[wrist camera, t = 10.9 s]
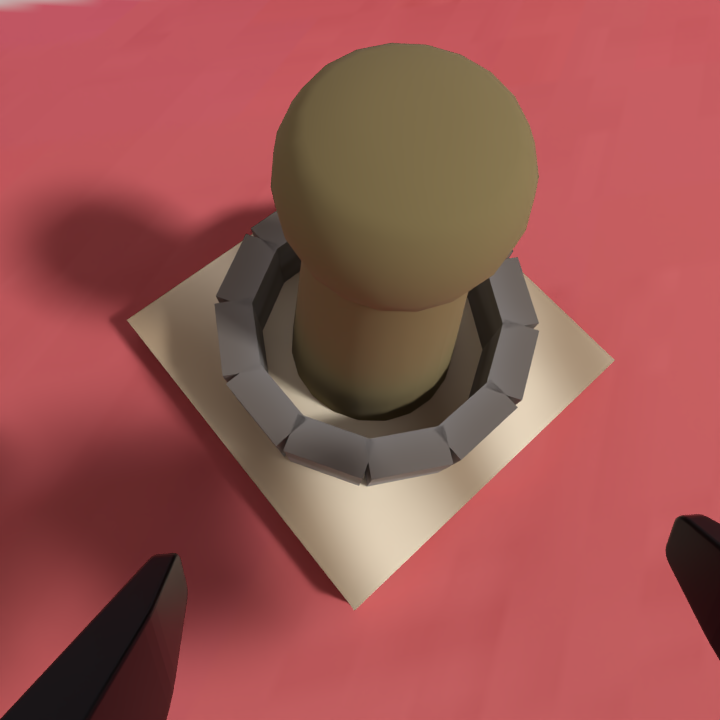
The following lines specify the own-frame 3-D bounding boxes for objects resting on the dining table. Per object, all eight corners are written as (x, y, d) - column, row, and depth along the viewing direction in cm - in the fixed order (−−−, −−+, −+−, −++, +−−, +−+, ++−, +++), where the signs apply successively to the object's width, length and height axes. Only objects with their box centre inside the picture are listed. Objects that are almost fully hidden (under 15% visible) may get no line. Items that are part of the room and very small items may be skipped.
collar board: (353, 605, 17) (357, 624, 14) (138, 331, 20) (96, 289, 16) (599, 369, 20) (654, 336, 17) (383, 161, 23) (392, 95, 20)
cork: (265, 306, 19) (179, 44, 9) (405, 247, 20) (477, -49, 10) (333, 450, 18) (327, 338, 7) (482, 378, 19) (664, 190, 8)
